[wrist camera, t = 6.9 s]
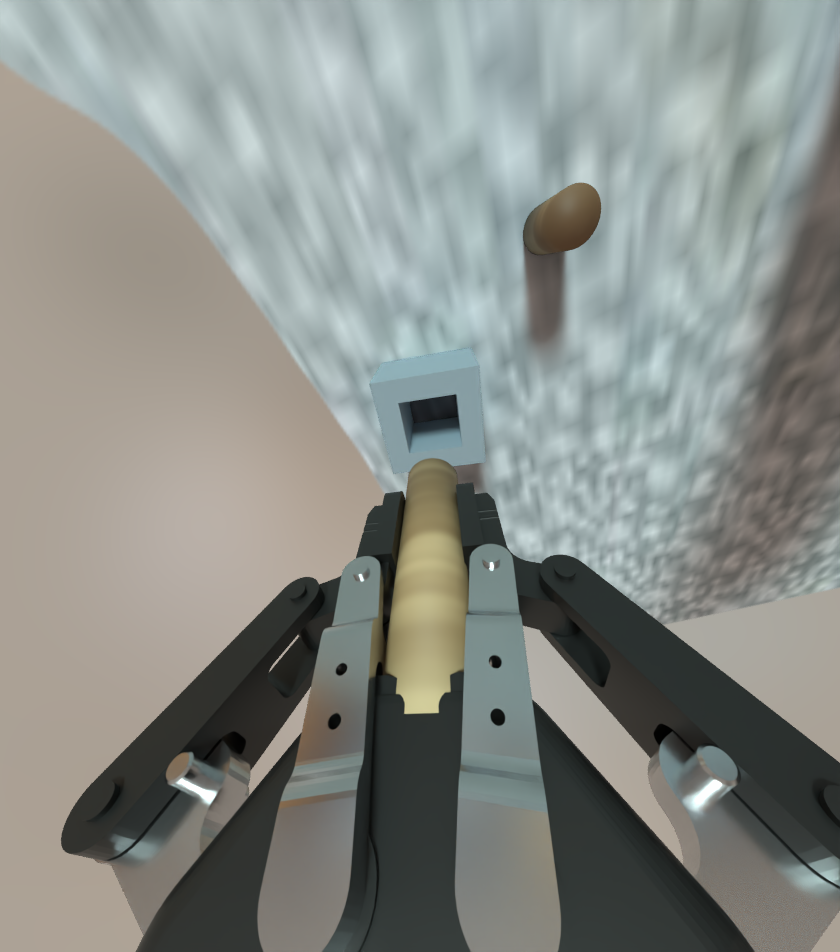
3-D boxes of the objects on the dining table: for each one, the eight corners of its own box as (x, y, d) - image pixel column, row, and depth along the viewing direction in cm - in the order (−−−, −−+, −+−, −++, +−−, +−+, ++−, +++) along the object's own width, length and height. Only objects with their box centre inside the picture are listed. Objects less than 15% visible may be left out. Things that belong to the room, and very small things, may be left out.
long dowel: (403, 461, 14) (361, 714, 6) (453, 454, 14) (482, 710, 6) (413, 501, 16) (390, 754, 7) (460, 495, 15) (490, 753, 7)
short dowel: (523, 208, 17) (547, 189, 14) (567, 197, 17) (604, 176, 13) (522, 258, 19) (544, 255, 15) (564, 250, 18) (596, 244, 15)
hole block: (381, 363, 22) (369, 383, 18) (470, 347, 22) (479, 365, 17) (400, 441, 26) (393, 473, 22) (477, 430, 25) (485, 462, 21)
